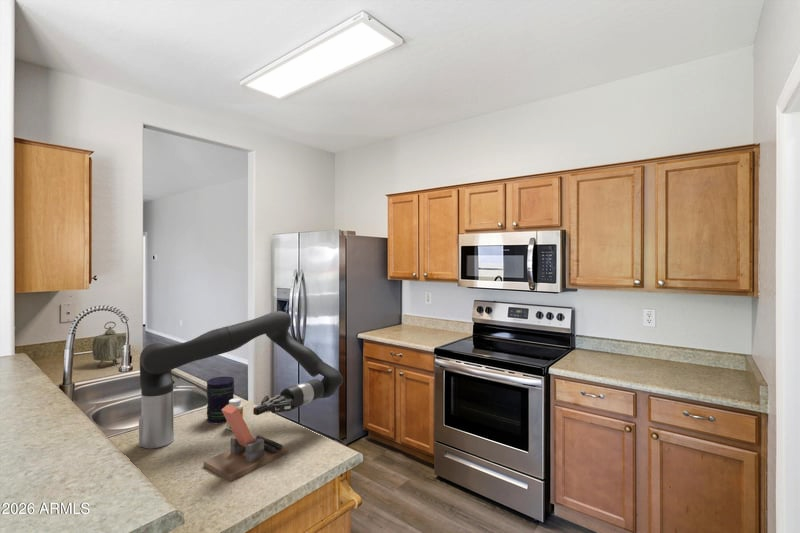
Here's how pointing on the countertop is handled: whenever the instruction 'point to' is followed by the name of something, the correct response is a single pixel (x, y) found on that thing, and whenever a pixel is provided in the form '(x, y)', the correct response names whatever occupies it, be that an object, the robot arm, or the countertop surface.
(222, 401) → the storage jar
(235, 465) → the switch board
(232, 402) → the supplement bottle
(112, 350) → the tabletop clock
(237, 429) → the lever
